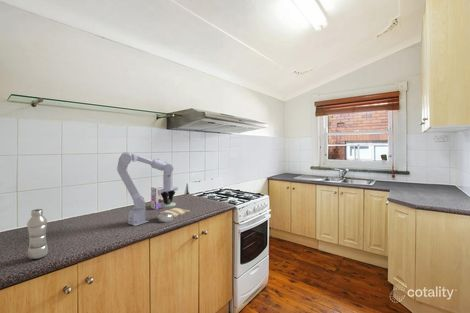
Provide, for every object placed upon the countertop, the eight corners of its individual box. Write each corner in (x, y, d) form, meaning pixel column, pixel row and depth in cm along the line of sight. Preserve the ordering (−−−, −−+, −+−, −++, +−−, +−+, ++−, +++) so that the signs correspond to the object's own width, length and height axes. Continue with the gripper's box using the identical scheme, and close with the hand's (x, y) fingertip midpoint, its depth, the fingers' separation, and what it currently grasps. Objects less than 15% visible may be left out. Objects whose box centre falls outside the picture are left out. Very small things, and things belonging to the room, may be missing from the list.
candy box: (155, 209, 166) (155, 187, 166) (150, 208, 170) (150, 187, 169) (170, 206, 177) (170, 185, 177) (166, 204, 181) (166, 184, 180)
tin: (164, 224, 137) (164, 217, 137) (155, 221, 142) (155, 214, 142) (176, 220, 144) (176, 214, 144) (166, 217, 149) (166, 211, 149)
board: (172, 217, 149) (172, 216, 148) (158, 214, 156) (158, 212, 156) (189, 212, 162) (189, 210, 162) (176, 208, 170) (176, 207, 170)
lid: (167, 208, 139) (167, 202, 139) (157, 206, 144) (157, 200, 144) (178, 204, 148) (178, 198, 148) (168, 203, 153) (168, 197, 152)
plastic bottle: (29, 262, 90) (27, 213, 89) (26, 257, 94) (25, 210, 93) (49, 257, 94) (48, 210, 94) (46, 252, 99) (45, 207, 98)
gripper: (162, 184, 137) (162, 206, 138) (180, 181, 149) (180, 201, 150) (155, 183, 141) (155, 204, 142) (173, 180, 153) (173, 200, 154)
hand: (168, 202), depth 146 cm, fingers closed on lid, 3 cm apart
